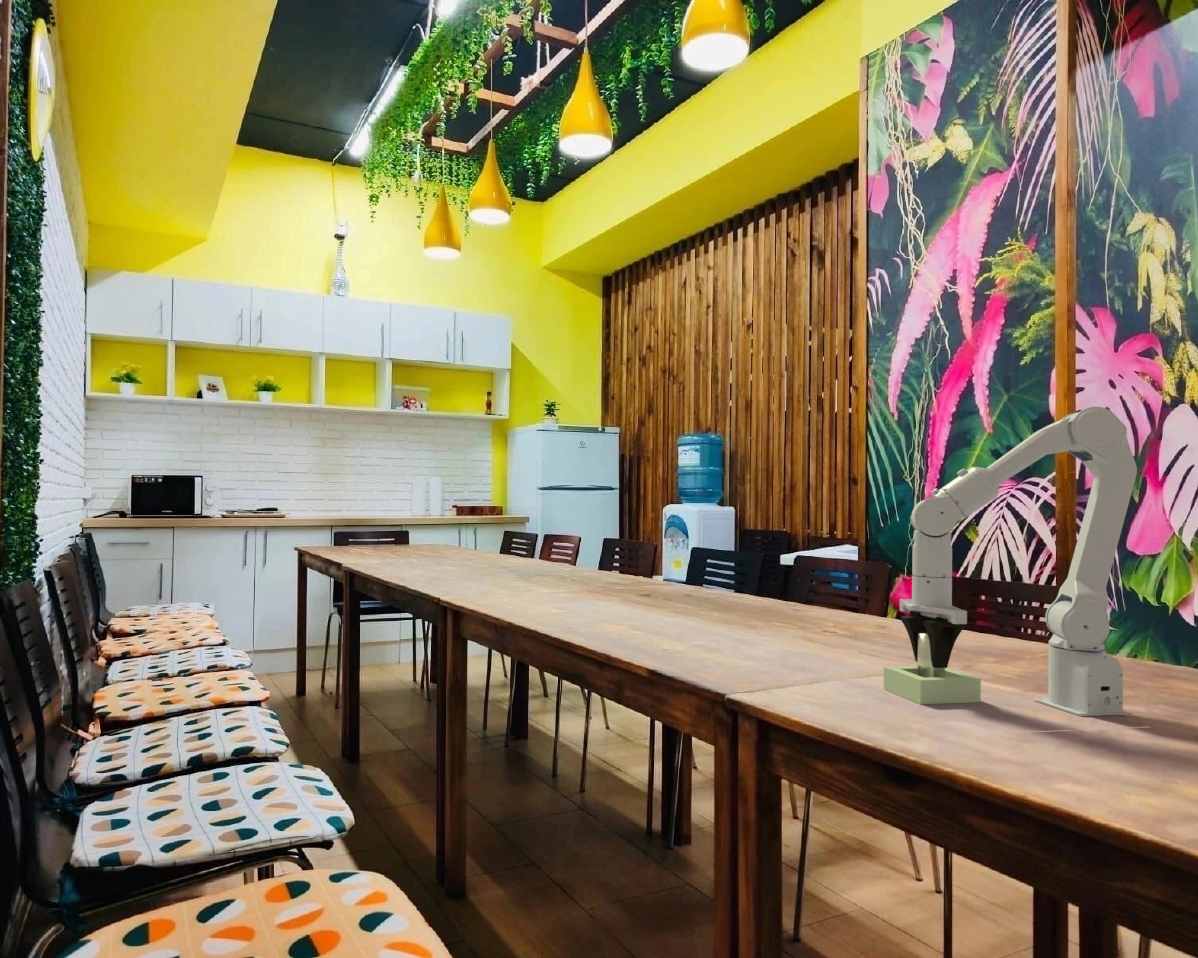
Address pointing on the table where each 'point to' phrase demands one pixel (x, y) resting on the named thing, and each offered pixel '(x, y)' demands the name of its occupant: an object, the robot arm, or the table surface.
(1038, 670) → the table surface
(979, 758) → the table surface
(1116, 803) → the table surface
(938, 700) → the green tray
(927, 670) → the peg
